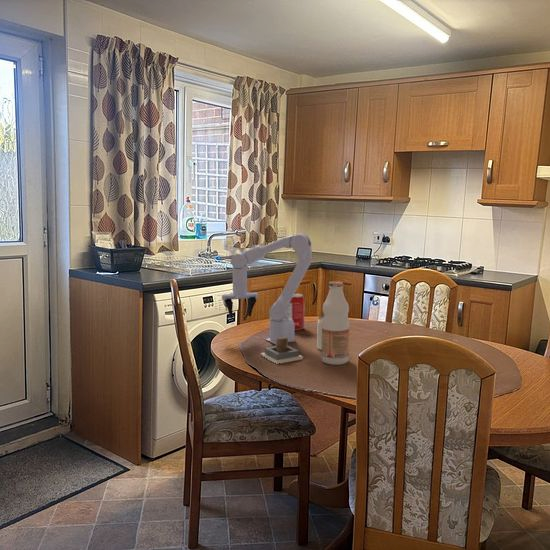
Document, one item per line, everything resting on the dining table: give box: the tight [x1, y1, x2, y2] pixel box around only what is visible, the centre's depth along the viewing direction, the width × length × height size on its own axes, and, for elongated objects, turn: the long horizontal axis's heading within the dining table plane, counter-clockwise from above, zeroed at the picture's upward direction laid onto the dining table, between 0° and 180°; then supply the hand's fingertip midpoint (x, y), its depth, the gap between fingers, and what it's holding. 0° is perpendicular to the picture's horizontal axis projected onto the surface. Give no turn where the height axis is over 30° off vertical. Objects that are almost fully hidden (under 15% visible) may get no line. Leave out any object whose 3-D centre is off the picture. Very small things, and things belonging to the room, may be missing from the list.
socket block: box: [260, 345, 304, 365], centre depth 193 cm, size 11×11×3 cm
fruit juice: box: [321, 281, 350, 366], centre depth 187 cm, size 9×9×28 cm
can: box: [316, 315, 324, 351], centre depth 203 cm, size 6×6×12 cm
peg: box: [275, 337, 289, 353], centre depth 192 cm, size 4×4×6 cm
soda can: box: [286, 293, 306, 332], centre depth 232 cm, size 8×8×15 cm
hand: (240, 316), depth 215 cm, fingers open, 7 cm apart
